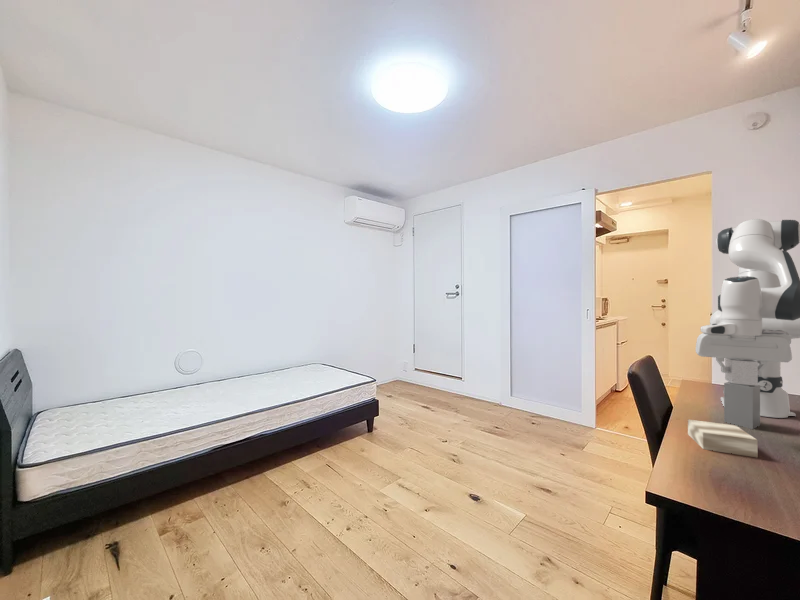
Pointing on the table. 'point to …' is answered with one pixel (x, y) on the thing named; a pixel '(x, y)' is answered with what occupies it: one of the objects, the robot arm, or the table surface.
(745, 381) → the grey block
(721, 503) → the table surface
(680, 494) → the table surface
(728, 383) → the perfume bottle
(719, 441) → the cream square dish
